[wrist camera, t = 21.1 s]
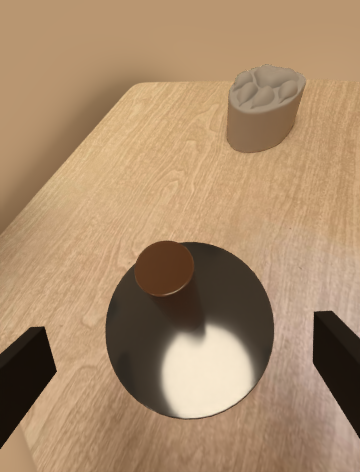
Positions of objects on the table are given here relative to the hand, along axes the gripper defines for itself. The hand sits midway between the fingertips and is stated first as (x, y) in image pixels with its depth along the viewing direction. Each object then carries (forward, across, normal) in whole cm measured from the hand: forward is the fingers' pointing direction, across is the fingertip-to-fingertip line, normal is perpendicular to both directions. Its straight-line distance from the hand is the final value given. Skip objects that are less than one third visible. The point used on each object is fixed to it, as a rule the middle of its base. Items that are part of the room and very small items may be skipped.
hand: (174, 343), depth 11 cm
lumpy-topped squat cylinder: (+37, +13, +15) cm, 42 cm away
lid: (+6, 0, -3) cm, 7 cm away
